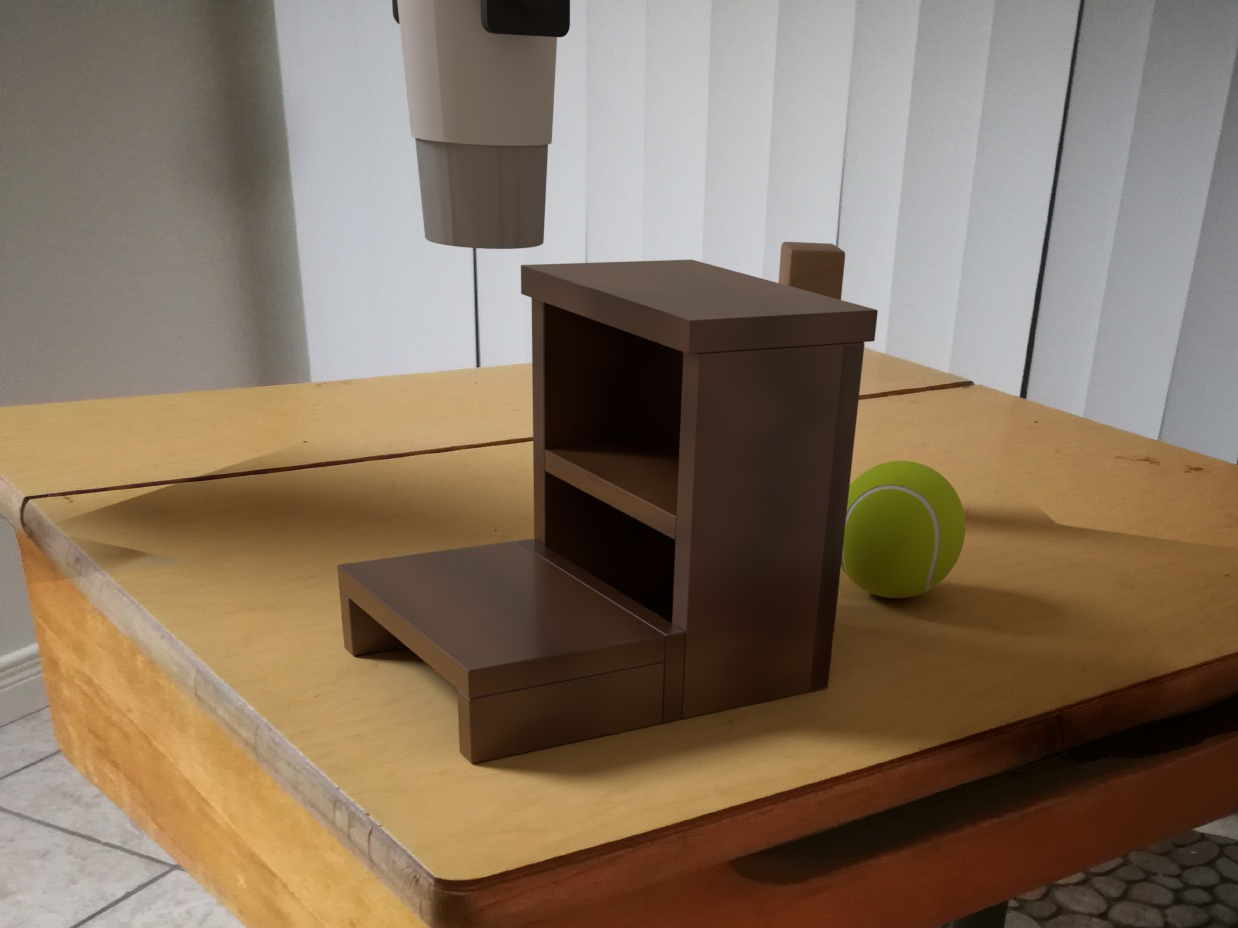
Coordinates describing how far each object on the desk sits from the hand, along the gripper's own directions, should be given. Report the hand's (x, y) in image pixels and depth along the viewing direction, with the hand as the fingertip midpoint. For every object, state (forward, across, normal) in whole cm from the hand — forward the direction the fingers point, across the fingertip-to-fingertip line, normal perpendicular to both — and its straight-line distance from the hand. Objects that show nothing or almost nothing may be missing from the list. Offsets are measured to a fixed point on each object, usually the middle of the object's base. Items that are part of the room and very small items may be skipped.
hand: (478, 26), depth 52 cm
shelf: (+25, +2, +4) cm, 25 cm away
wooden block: (+25, -18, +30) cm, 43 cm away
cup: (+7, 0, 0) cm, 7 cm away
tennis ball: (+25, 0, +24) cm, 35 cm away
